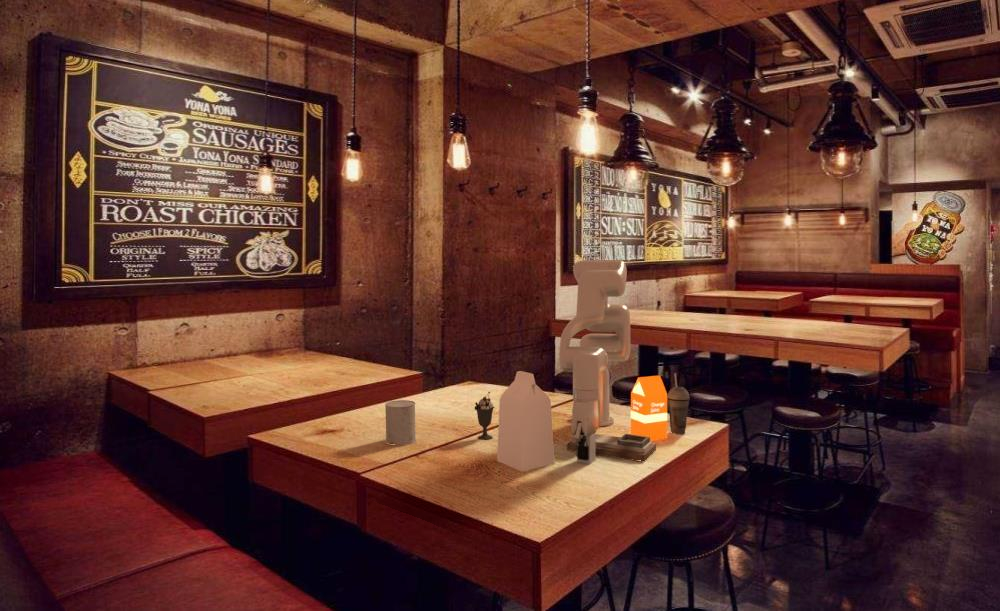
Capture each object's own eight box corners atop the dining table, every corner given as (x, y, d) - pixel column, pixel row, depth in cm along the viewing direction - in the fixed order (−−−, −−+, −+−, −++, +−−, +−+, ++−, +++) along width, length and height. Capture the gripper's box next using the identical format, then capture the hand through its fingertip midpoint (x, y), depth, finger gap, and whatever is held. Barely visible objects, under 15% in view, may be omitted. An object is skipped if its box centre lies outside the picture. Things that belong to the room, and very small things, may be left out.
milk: (554, 463, 181) (554, 373, 179) (522, 471, 174) (521, 378, 172) (528, 453, 191) (528, 367, 189) (497, 460, 184) (496, 371, 182)
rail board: (566, 450, 193) (566, 413, 192) (581, 440, 204) (581, 405, 203) (644, 461, 182) (644, 423, 181) (655, 450, 192) (656, 414, 191)
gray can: (391, 447, 198) (390, 408, 197) (382, 439, 206) (381, 402, 205) (420, 442, 202) (419, 404, 201) (410, 435, 211) (409, 399, 210)
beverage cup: (690, 436, 207) (691, 375, 206) (667, 435, 209) (668, 374, 207) (688, 430, 214) (689, 371, 213) (666, 429, 216) (666, 371, 214)
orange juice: (630, 435, 208) (630, 375, 207) (652, 432, 212) (653, 373, 210) (644, 442, 201) (645, 379, 199) (667, 438, 204) (668, 377, 203)
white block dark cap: (575, 461, 182) (575, 434, 182) (580, 457, 186) (580, 430, 185) (590, 463, 180) (590, 436, 179) (595, 460, 183) (595, 432, 183)
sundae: (498, 435, 210) (497, 390, 208) (491, 441, 203) (490, 395, 202) (479, 434, 212) (478, 389, 211) (471, 439, 205) (471, 393, 204)
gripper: (584, 387, 190) (584, 447, 192) (562, 398, 176) (562, 463, 177) (608, 390, 187) (608, 451, 188) (587, 401, 172) (587, 467, 174)
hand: (586, 456), depth 183 cm, fingers closed on white block dark cap, 3 cm apart
